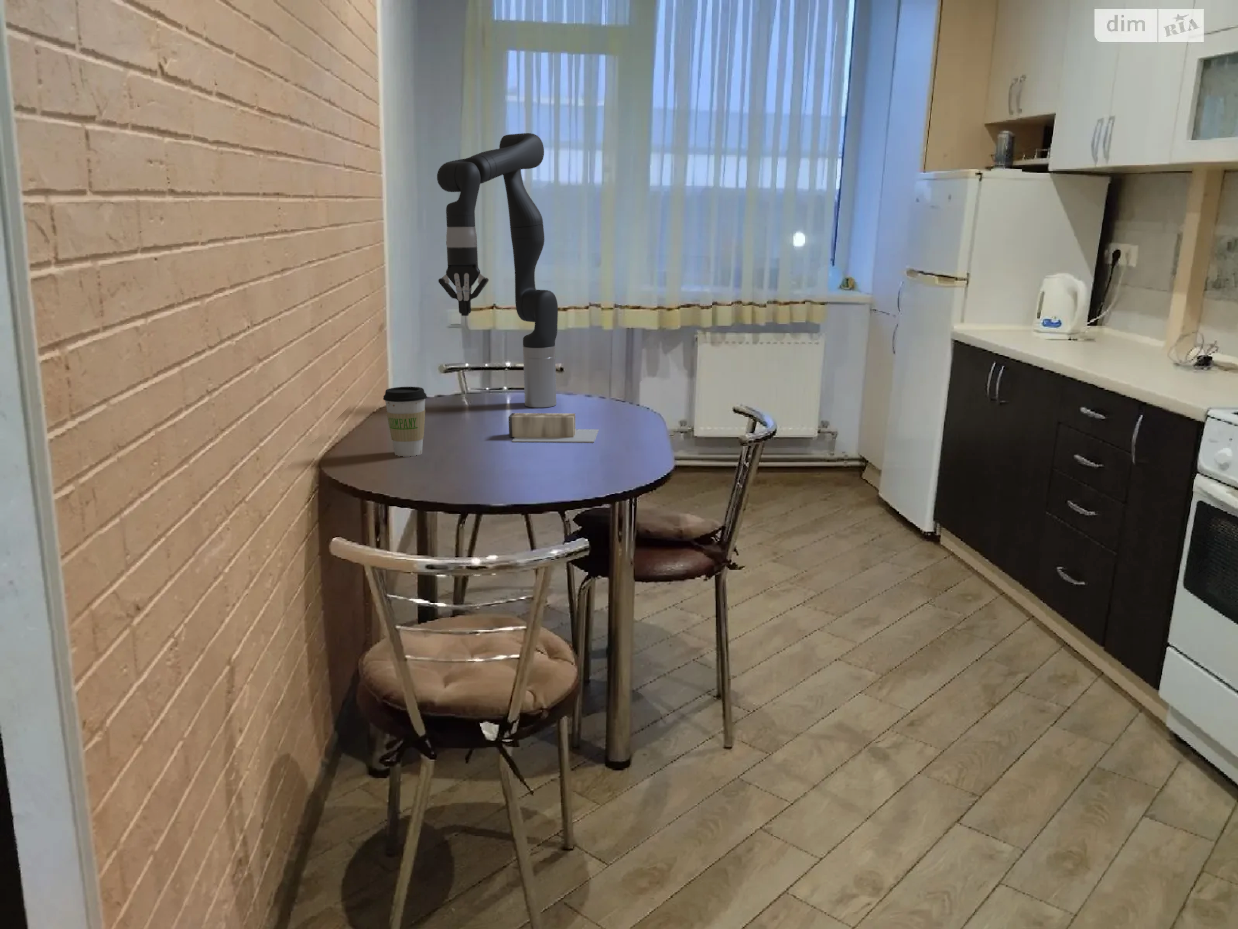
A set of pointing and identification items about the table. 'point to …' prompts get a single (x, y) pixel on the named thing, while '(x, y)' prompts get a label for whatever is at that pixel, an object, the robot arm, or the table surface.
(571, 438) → the grey mat
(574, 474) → the table surface
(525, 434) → the birch block
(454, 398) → the table surface
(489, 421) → the table surface
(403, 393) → the coffee cup
